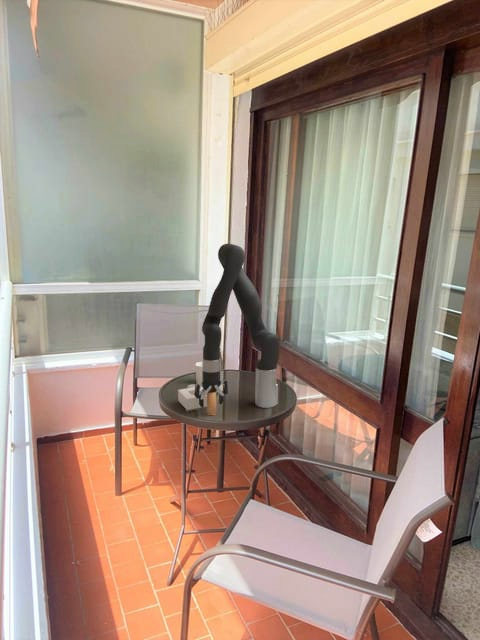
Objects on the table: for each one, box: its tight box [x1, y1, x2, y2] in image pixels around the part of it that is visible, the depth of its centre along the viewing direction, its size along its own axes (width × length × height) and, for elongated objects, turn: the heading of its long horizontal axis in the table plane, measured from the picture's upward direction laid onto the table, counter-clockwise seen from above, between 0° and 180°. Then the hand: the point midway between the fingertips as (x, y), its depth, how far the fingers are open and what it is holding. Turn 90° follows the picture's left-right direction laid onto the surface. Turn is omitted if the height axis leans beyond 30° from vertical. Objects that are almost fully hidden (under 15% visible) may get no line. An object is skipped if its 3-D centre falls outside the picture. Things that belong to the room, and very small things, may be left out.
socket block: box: [177, 387, 207, 412], centre depth 215 cm, size 12×12×6 cm
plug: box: [206, 392, 217, 416], centre depth 205 cm, size 4×4×10 cm
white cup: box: [195, 361, 203, 384], centre depth 242 cm, size 8×8×10 cm
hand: (211, 405), depth 205 cm, fingers open, 8 cm apart
